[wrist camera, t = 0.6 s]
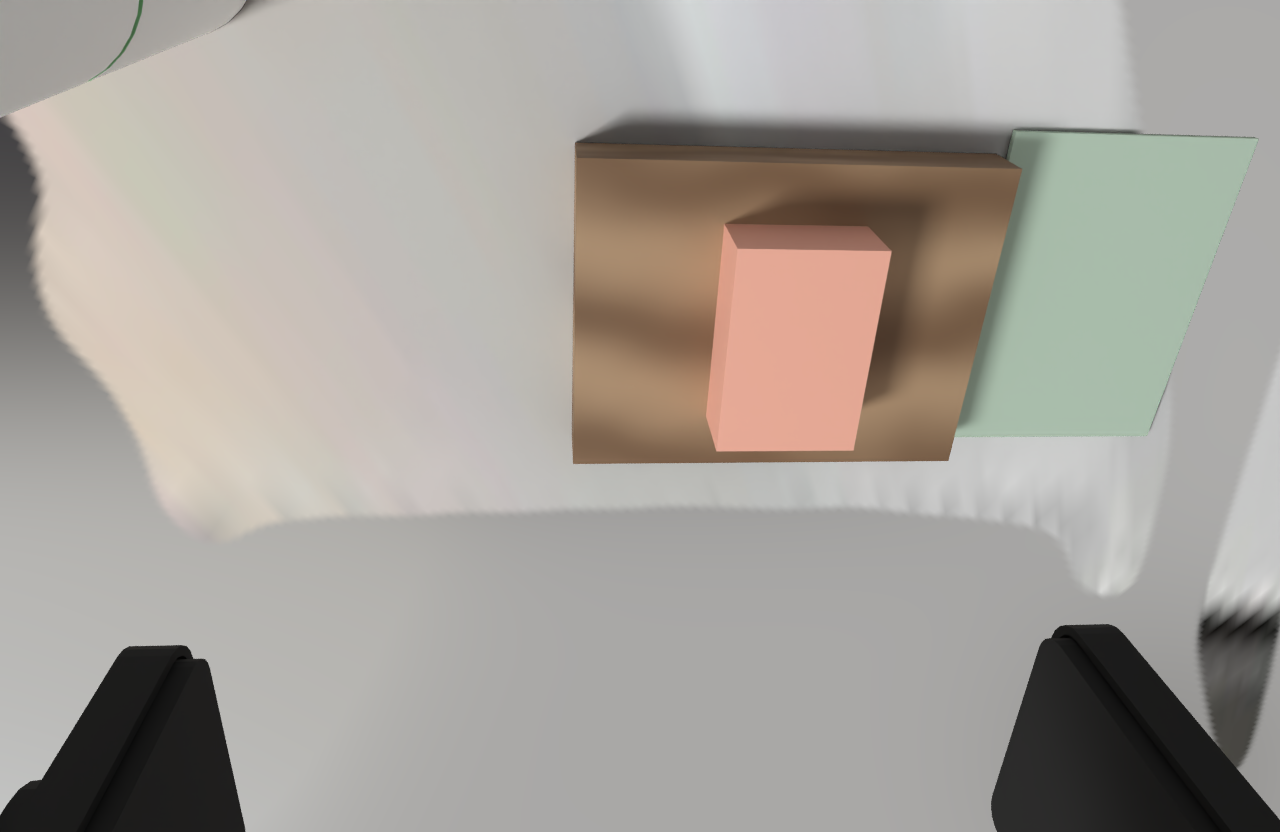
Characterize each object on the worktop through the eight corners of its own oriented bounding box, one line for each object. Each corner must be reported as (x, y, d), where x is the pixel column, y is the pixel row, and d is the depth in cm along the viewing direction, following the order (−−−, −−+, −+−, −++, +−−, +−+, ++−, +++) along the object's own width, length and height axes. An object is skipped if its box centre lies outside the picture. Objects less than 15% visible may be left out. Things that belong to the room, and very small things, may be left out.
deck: (574, 142, 37) (576, 157, 35) (996, 153, 39) (1022, 168, 37) (572, 435, 44) (573, 463, 42) (929, 434, 46) (948, 460, 44)
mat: (1012, 130, 38) (1016, 131, 38) (1254, 137, 39) (1258, 138, 39) (938, 434, 46) (941, 437, 46) (1143, 433, 47) (1146, 436, 47)
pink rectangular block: (724, 223, 37) (737, 248, 34) (868, 226, 37) (891, 251, 35) (706, 416, 41) (716, 451, 39) (834, 416, 42) (853, 450, 39)
